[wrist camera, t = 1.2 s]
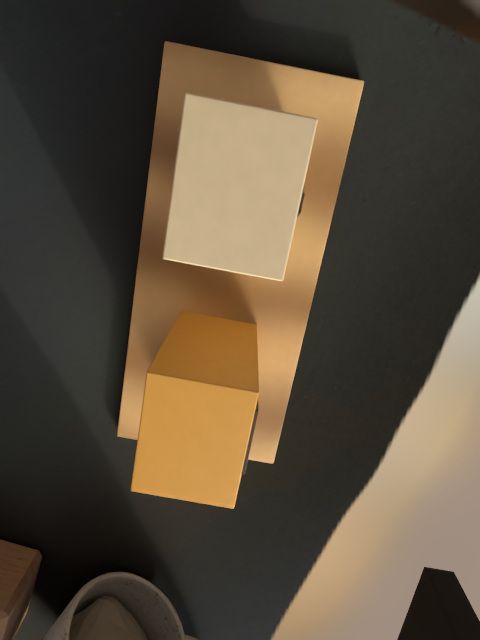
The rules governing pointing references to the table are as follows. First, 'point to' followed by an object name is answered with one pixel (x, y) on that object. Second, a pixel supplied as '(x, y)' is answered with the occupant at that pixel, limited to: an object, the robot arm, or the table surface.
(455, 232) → the table surface
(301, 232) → the word board
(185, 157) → the tile
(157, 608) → the ceramic mug
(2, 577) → the decorative block
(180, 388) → the orange block
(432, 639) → the robot arm
